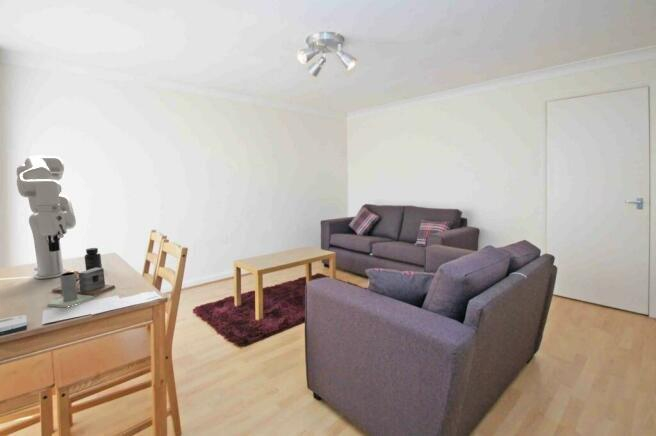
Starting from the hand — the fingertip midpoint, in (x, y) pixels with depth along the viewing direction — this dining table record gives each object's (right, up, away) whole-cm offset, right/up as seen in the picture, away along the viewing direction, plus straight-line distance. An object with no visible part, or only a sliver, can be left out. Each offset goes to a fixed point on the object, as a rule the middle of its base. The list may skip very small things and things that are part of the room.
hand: (54, 250), depth 143 cm
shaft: (+12, -14, -1) cm, 18 cm away
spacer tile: (+18, -19, -14) cm, 30 cm away
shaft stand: (+13, -17, -1) cm, 21 cm away
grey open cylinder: (+18, -18, -14) cm, 29 cm away
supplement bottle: (-1, -13, +26) cm, 30 cm away
